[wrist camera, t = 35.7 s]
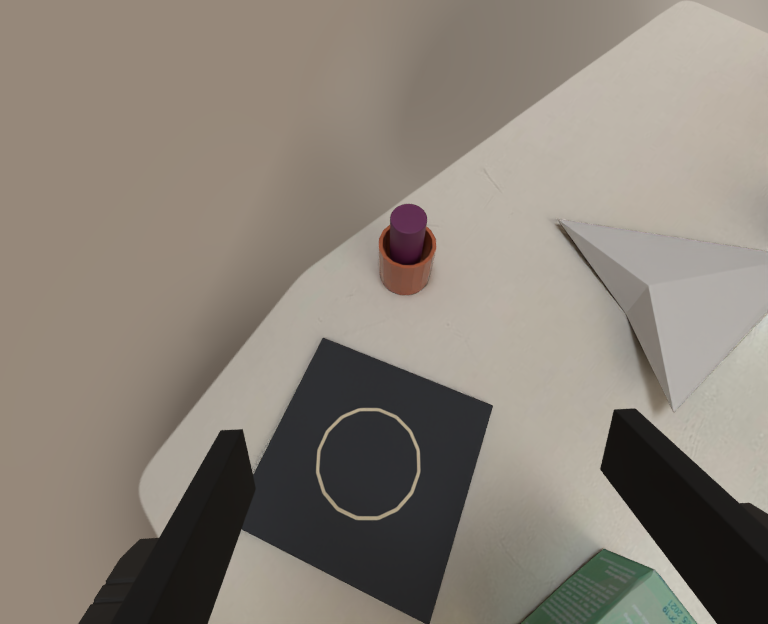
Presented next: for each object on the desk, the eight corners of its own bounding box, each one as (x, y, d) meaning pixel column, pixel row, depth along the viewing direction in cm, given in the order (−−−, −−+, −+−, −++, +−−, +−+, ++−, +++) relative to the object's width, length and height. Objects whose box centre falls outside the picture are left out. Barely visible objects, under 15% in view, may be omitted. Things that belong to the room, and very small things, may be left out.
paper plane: (883, 359, 41) (934, 348, 37) (649, 417, 39) (678, 412, 35) (746, 185, 51) (775, 162, 47) (553, 223, 48) (567, 202, 45)
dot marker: (385, 278, 45) (384, 226, 35) (395, 255, 46) (398, 199, 37) (412, 288, 44) (419, 238, 35) (422, 264, 46) (432, 209, 36)
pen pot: (372, 284, 45) (369, 256, 39) (391, 245, 47) (391, 213, 41) (419, 302, 44) (424, 276, 38) (436, 261, 46) (443, 230, 40)
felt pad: (231, 522, 35) (228, 523, 34) (323, 339, 42) (322, 337, 42) (428, 623, 32) (429, 626, 31) (491, 406, 39) (493, 405, 39)
